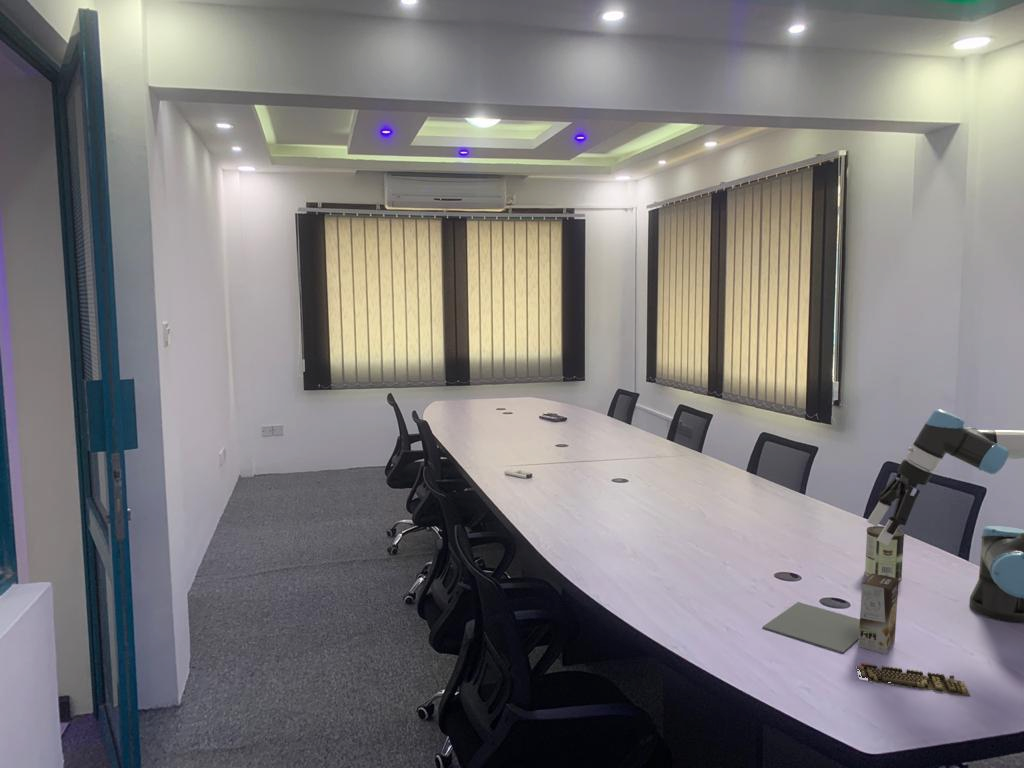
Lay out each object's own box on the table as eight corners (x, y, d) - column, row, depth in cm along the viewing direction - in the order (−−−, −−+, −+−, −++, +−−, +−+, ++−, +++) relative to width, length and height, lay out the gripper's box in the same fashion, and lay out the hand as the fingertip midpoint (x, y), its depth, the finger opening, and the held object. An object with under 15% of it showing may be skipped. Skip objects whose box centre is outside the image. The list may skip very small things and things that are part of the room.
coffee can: (886, 568, 231) (889, 525, 229) (909, 580, 221) (912, 535, 219) (857, 570, 229) (859, 526, 228) (878, 582, 219) (881, 536, 218)
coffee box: (886, 654, 174) (890, 589, 172) (857, 646, 178) (861, 582, 176) (895, 641, 181) (899, 578, 179) (867, 633, 185) (871, 572, 183)
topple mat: (874, 624, 190) (874, 623, 190) (843, 653, 174) (843, 652, 174) (797, 603, 204) (798, 601, 204) (762, 628, 188) (762, 626, 188)
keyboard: (858, 683, 162) (858, 675, 162) (853, 665, 170) (853, 656, 170) (971, 700, 155) (972, 691, 155) (961, 680, 163) (961, 671, 163)
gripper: (894, 446, 204) (855, 510, 210) (916, 472, 181) (872, 543, 186) (920, 459, 203) (880, 523, 209) (946, 486, 179) (901, 558, 185)
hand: (876, 533), depth 198 cm, fingers open, 13 cm apart
